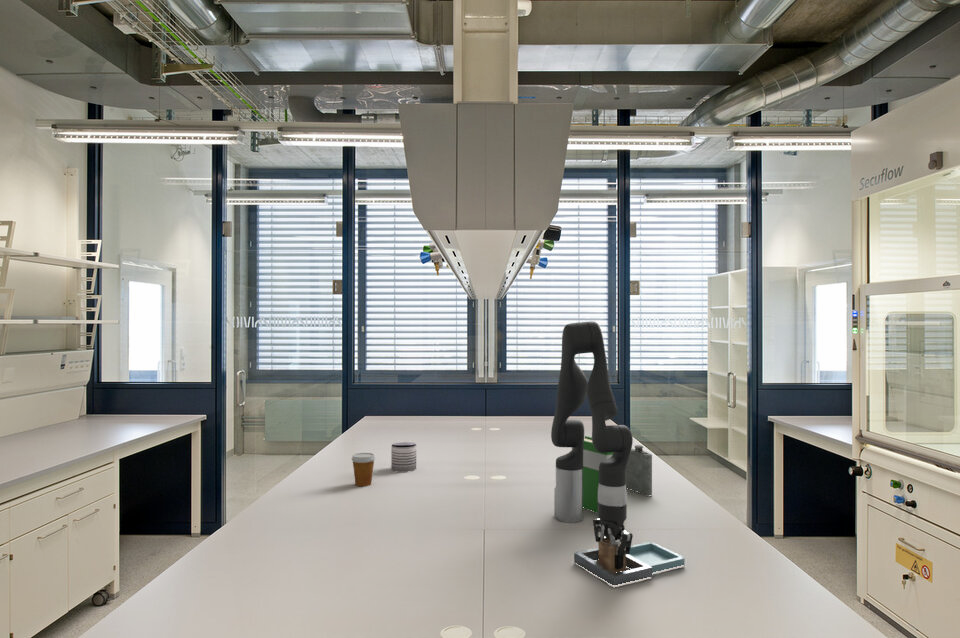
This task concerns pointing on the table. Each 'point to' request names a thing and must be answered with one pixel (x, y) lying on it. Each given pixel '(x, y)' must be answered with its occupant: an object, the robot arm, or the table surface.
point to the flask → (639, 471)
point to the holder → (635, 573)
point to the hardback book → (591, 473)
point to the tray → (656, 556)
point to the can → (403, 457)
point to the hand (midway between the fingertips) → (611, 564)
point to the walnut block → (609, 556)
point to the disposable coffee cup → (363, 468)
